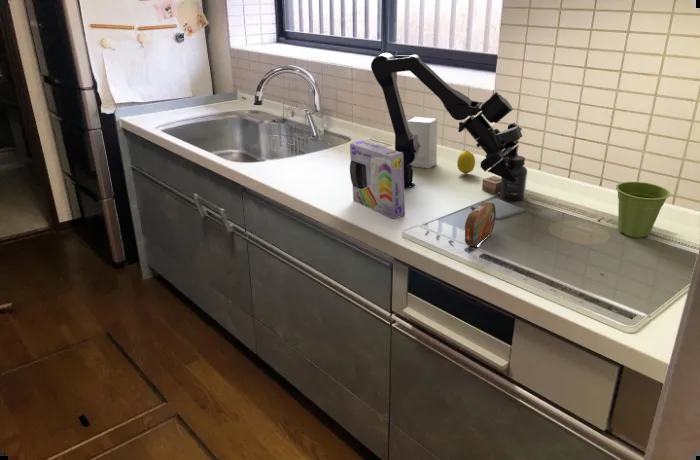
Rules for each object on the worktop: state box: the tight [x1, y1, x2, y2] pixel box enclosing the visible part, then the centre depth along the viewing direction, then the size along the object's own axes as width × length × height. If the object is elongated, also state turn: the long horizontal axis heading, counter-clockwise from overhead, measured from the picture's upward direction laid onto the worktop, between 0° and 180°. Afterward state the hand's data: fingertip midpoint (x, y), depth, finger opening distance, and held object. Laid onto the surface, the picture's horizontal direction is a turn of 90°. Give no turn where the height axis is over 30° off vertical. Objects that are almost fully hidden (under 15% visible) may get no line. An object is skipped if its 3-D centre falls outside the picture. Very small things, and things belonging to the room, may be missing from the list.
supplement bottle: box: [499, 154, 528, 203], centre depth 165 cm, size 7×7×12 cm
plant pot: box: [615, 181, 671, 239], centre depth 142 cm, size 12×12×11 cm
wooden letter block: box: [481, 175, 501, 195], centre depth 173 cm, size 5×5×4 cm
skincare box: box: [407, 116, 438, 170], centre depth 194 cm, size 8×7×16 cm
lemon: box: [456, 149, 476, 176], centre depth 186 cm, size 6×6×8 cm
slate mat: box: [470, 198, 525, 220], centre depth 160 cm, size 10×10×1 cm
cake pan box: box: [349, 139, 406, 219], centre depth 159 cm, size 19×5×18 cm, turn 36°
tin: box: [464, 201, 496, 248], centre depth 141 cm, size 15×3×8 cm, turn 148°
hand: (519, 176), depth 164 cm, fingers open, 9 cm apart
